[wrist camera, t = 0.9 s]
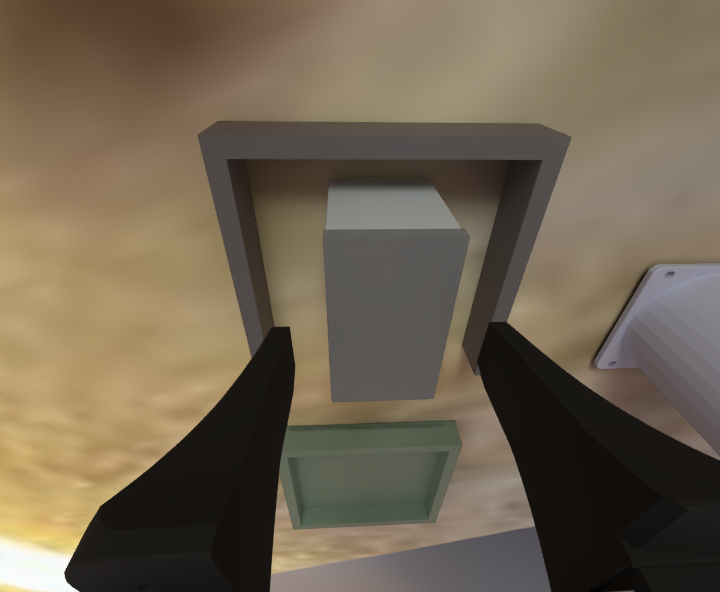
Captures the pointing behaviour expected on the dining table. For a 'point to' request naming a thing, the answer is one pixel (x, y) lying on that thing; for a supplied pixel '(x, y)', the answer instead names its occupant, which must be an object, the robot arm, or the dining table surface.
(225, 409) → the robot arm
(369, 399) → the grey upright block
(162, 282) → the dining table surface
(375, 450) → the tray
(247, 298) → the frame
